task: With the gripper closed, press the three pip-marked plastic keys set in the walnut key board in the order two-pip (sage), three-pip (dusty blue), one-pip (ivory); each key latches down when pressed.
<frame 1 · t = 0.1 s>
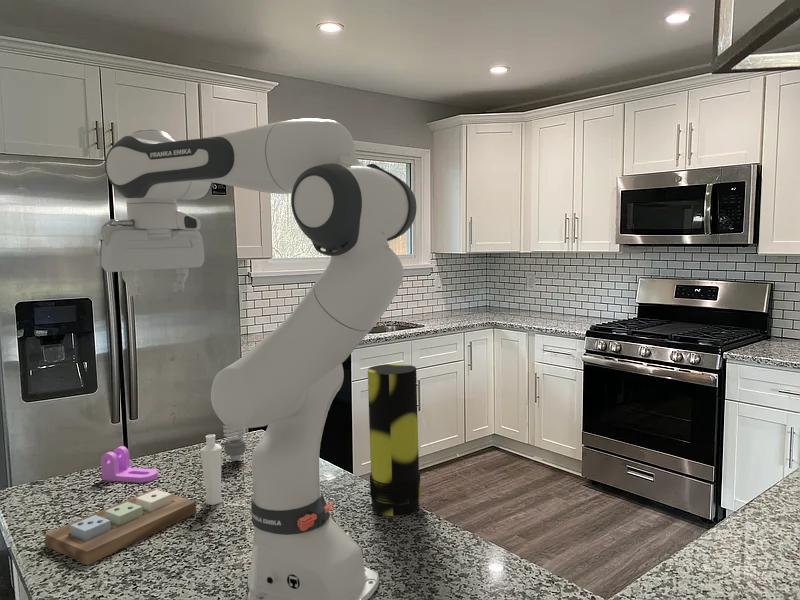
hand: (158, 293, 114), 48 cm above the worktop, fingers open, 8 cm apart
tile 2: (124, 514, 121), point 3 cm above the worktop, slide at 0.0 cm
light bulb: (235, 462, 158), on the worktop
perfume bottle: (215, 502, 134), on the worktop
bracket: (132, 478, 149), on the worktop
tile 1: (154, 501, 127), point 3 cm above the worktop, slide at 0.0 cm
key board: (125, 528, 121), on the worktop
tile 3: (90, 528, 115), point 3 cm above the worktop, slide at 0.0 cm
container: (395, 507, 128), on the worktop
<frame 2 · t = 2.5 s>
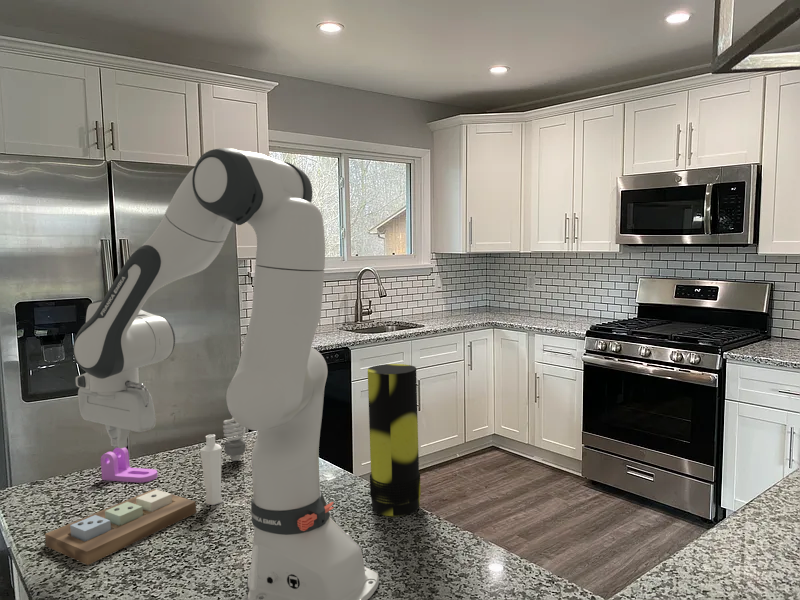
hand: (119, 446, 120), 17 cm above the worktop, fingers closed
nothing on the worktop moved.
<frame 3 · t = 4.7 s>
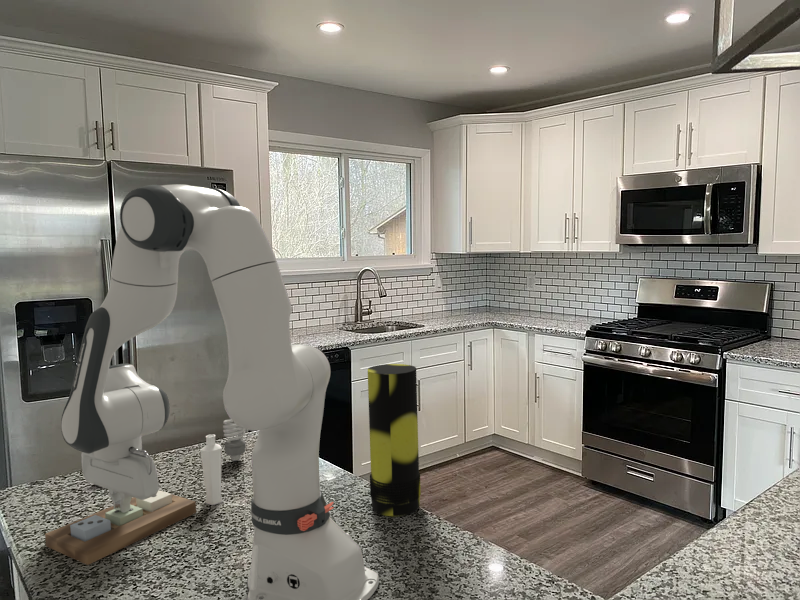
hand: (122, 510, 121), 4 cm above the worktop, fingers closed, pressing on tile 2
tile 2: (124, 516, 121), point 3 cm above the worktop, slide at 0.4 cm, touching gripper
everything else where it was.
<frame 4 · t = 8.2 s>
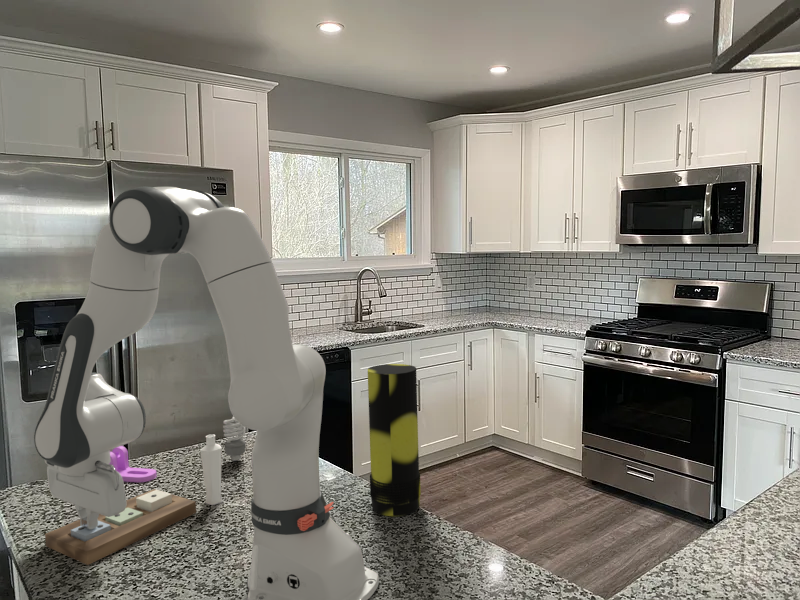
hand: (89, 526, 115), 3 cm above the worktop, fingers closed, pressing on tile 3
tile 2: (124, 520, 121), point 2 cm above the worktop, slide at 1.3 cm
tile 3: (91, 533, 115), point 2 cm above the worktop, slide at 1.0 cm, touching gripper
everything else where it was.
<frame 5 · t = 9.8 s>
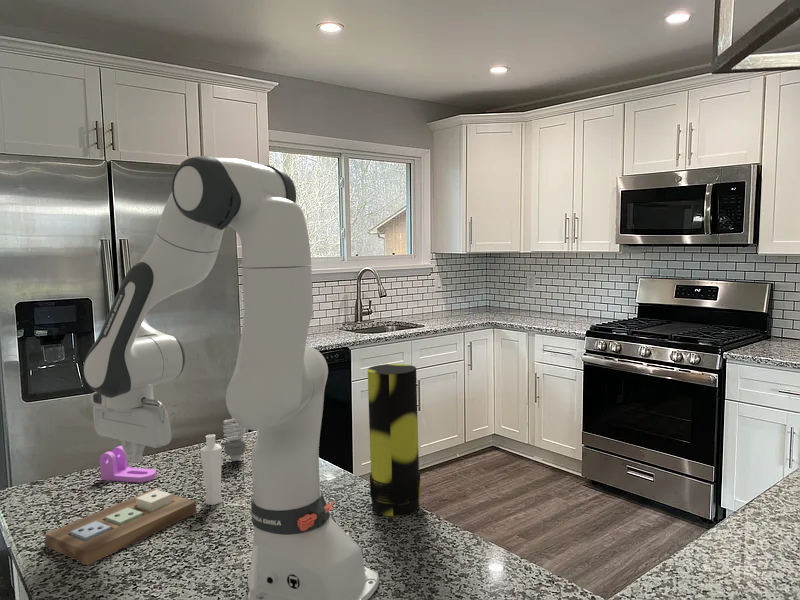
hand: (134, 461, 123), 13 cm above the worktop, fingers closed
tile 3: (91, 535, 115), point 2 cm above the worktop, slide at 1.3 cm
everything else where it was.
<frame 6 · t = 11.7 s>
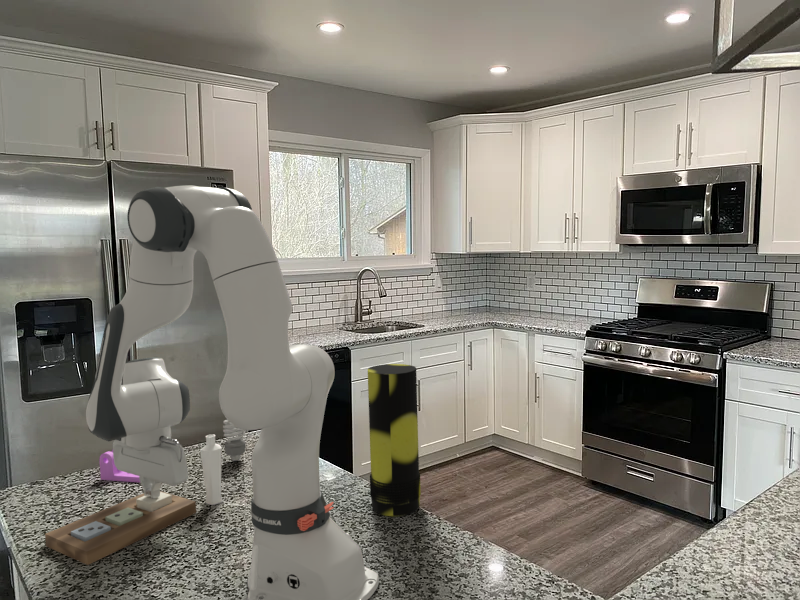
hand: (152, 496, 127), 4 cm above the worktop, fingers closed, pressing on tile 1
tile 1: (154, 502, 127), point 3 cm above the worktop, slide at 0.3 cm, touching gripper
everything else where it was.
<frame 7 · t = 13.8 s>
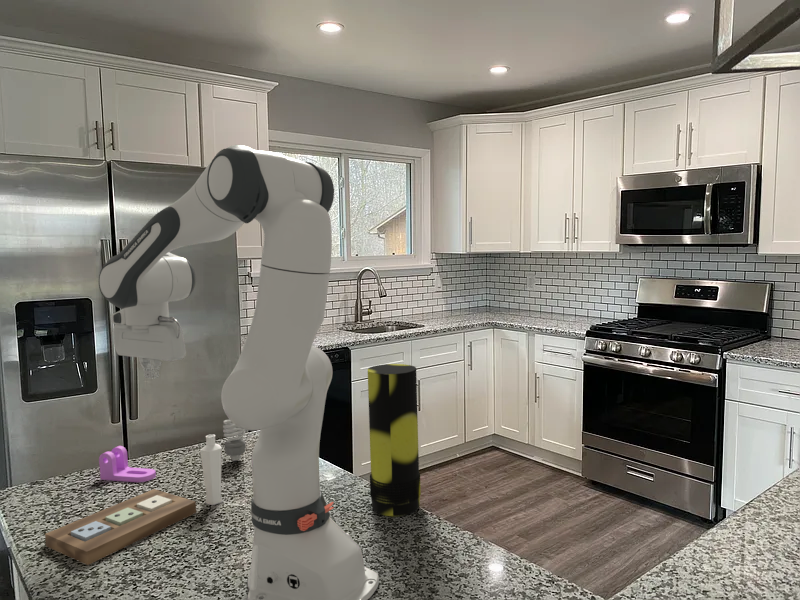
hand: (151, 377, 132), 28 cm above the worktop, fingers closed
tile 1: (154, 507, 127), point 2 cm above the worktop, slide at 1.3 cm
everything else where it was.
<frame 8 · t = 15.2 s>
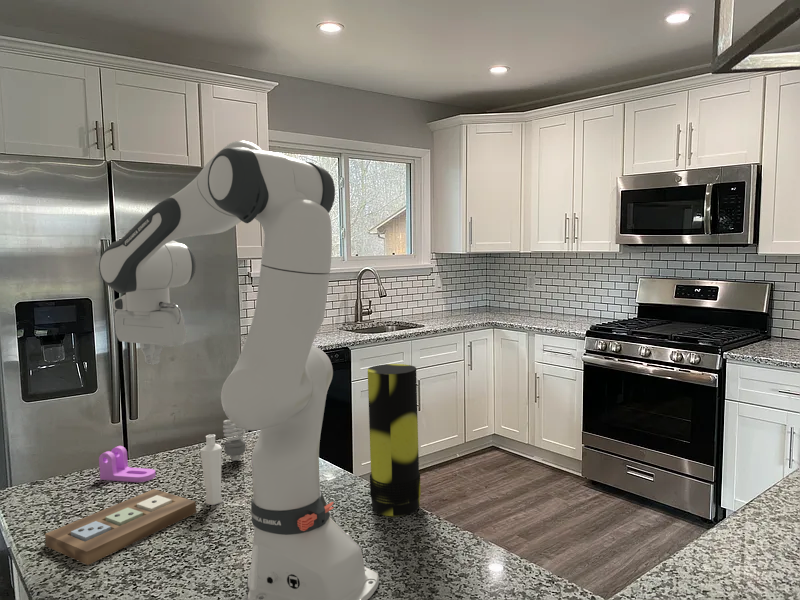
hand: (152, 363, 133), 31 cm above the worktop, fingers closed
nothing on the worktop moved.
at the end: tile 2 slide at 1.3 cm; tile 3 slide at 1.3 cm; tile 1 slide at 1.3 cm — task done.
